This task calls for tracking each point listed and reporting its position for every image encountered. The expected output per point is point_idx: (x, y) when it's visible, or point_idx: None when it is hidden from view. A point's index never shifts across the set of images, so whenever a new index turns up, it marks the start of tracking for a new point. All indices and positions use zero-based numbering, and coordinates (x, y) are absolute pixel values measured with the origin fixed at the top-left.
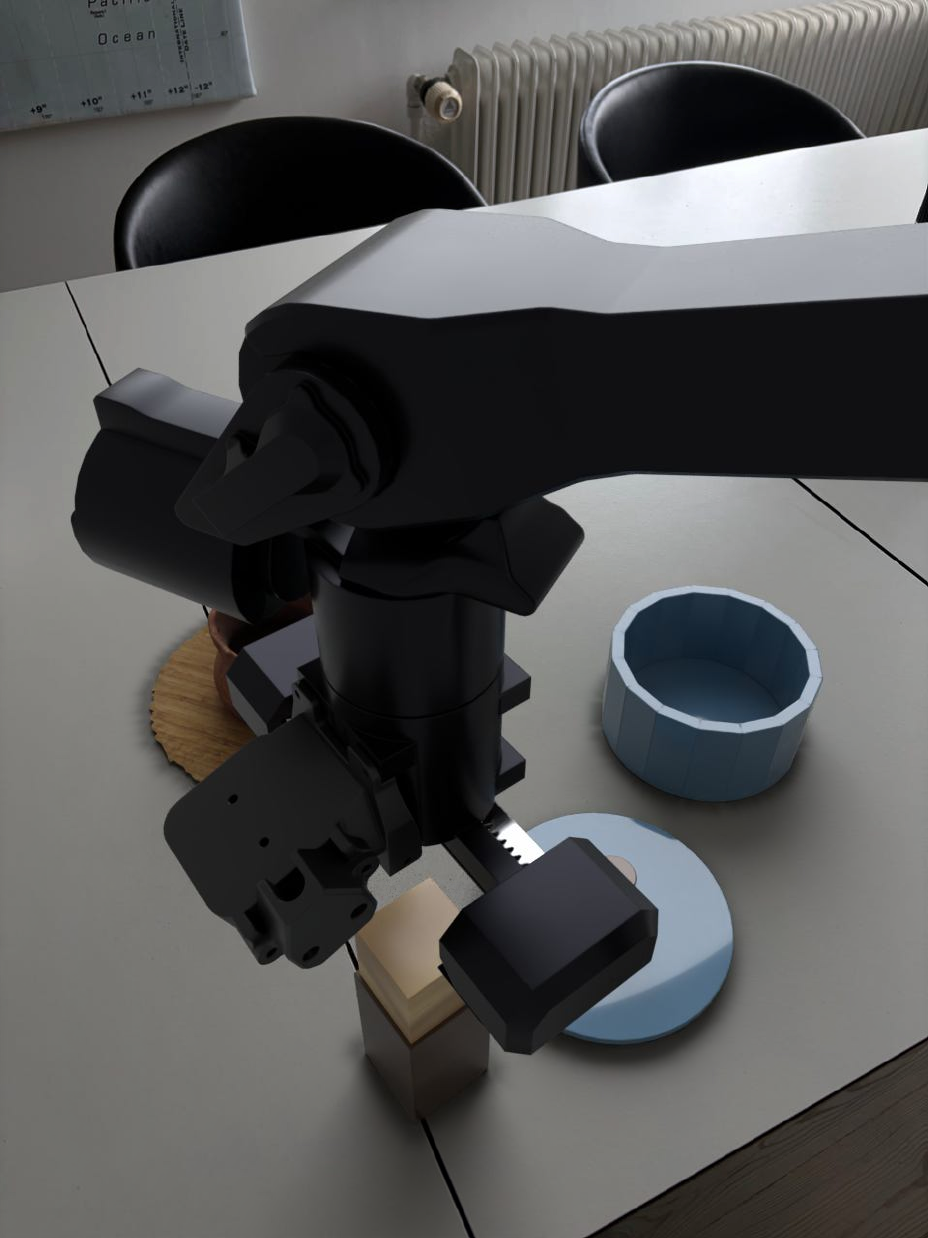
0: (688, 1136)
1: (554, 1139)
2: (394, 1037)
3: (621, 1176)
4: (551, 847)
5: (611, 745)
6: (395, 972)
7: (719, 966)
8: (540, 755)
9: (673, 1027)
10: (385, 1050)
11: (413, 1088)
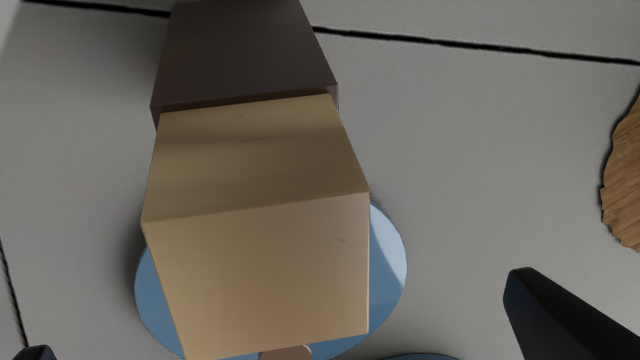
0: (36, 244)
1: (86, 136)
2: (203, 84)
3: (19, 174)
4: (374, 283)
5: (428, 356)
6: (215, 224)
7: (172, 344)
8: (468, 305)
9: (135, 291)
10: (238, 37)
11: (164, 46)
